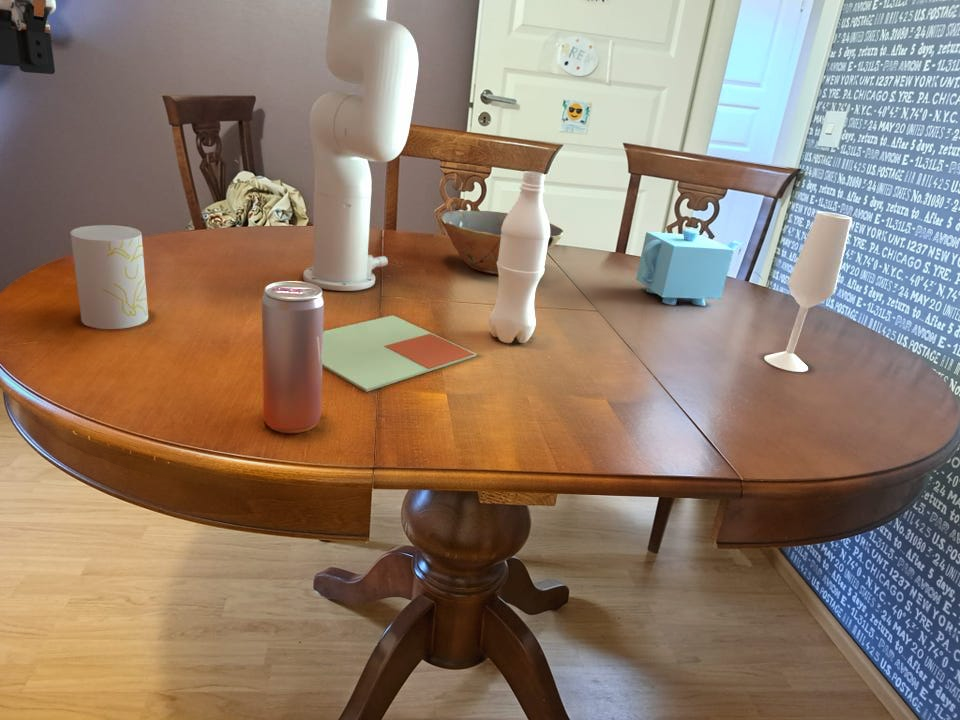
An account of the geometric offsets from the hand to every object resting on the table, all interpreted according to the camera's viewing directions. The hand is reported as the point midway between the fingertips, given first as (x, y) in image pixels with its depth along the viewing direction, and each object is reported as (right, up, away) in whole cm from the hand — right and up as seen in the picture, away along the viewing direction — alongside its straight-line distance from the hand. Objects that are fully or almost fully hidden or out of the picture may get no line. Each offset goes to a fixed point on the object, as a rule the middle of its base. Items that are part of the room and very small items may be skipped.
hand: (22, 68), depth 74 cm
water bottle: (+56, -29, +29) cm, 69 cm away
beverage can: (+31, -40, -3) cm, 50 cm away
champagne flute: (+101, -33, +33) cm, 111 cm away
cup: (+1, -27, +17) cm, 32 cm away
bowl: (+55, -14, +64) cm, 85 cm away
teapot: (+93, -20, +61) cm, 113 cm away
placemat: (+38, -31, +18) cm, 52 cm away
